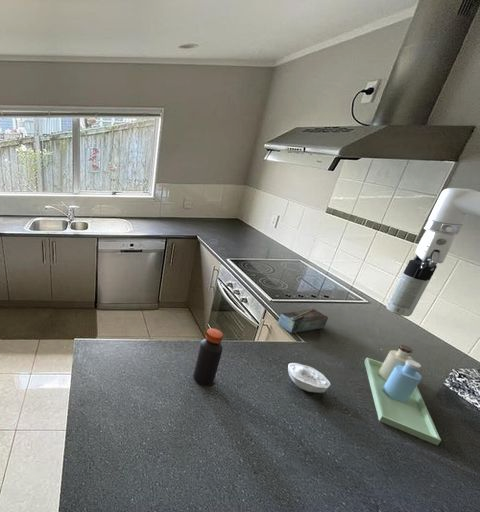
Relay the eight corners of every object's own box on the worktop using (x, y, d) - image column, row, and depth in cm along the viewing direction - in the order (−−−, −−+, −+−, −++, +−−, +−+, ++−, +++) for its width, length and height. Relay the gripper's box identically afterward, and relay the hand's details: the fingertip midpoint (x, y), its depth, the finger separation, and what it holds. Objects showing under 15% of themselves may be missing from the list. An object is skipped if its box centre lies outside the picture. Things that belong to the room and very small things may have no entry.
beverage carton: (276, 323, 130) (280, 311, 128) (309, 318, 135) (313, 307, 132) (290, 333, 123) (295, 321, 121) (325, 328, 127) (330, 316, 125)
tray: (407, 377, 102) (410, 372, 101) (436, 446, 78) (441, 440, 77) (363, 362, 108) (366, 357, 107) (378, 422, 85) (381, 416, 84)
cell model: (323, 405, 90) (331, 390, 87) (280, 384, 97) (286, 369, 94) (326, 386, 97) (334, 372, 94) (286, 368, 104) (292, 354, 101)
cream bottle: (398, 376, 101) (416, 346, 96) (402, 387, 97) (421, 356, 92) (376, 368, 105) (392, 339, 99) (379, 378, 100) (396, 348, 95)
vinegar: (196, 368, 102) (206, 323, 94) (215, 377, 98) (228, 331, 91) (190, 380, 97) (201, 334, 89) (210, 390, 93) (223, 342, 86)
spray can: (416, 317, 101) (444, 267, 93) (397, 316, 101) (423, 266, 93) (398, 307, 107) (423, 259, 99) (380, 306, 107) (403, 258, 99)
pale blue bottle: (404, 393, 95) (424, 362, 89) (409, 405, 90) (430, 373, 85) (380, 384, 98) (398, 353, 92) (384, 395, 93) (403, 364, 88)
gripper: (470, 235, 83) (440, 288, 90) (450, 223, 96) (425, 270, 103) (433, 230, 87) (407, 281, 94) (418, 219, 100) (396, 265, 107)
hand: (417, 275), depth 98 cm, fingers closed on spray can, 6 cm apart
